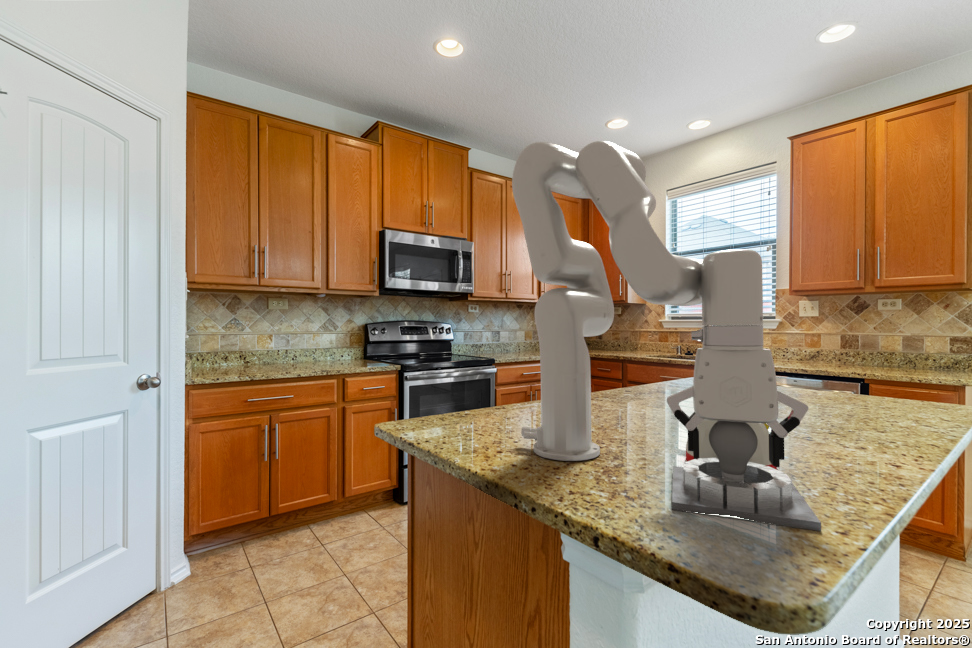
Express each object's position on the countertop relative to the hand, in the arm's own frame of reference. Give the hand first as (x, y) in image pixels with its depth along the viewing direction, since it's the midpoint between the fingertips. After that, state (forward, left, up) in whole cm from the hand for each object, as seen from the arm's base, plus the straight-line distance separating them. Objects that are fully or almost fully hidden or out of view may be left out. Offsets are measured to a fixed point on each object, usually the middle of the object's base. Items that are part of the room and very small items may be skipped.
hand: (733, 460), depth 62 cm
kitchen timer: (+1, +17, -5) cm, 18 cm away
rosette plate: (0, 0, -5) cm, 5 cm away
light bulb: (0, 0, -4) cm, 4 cm away
